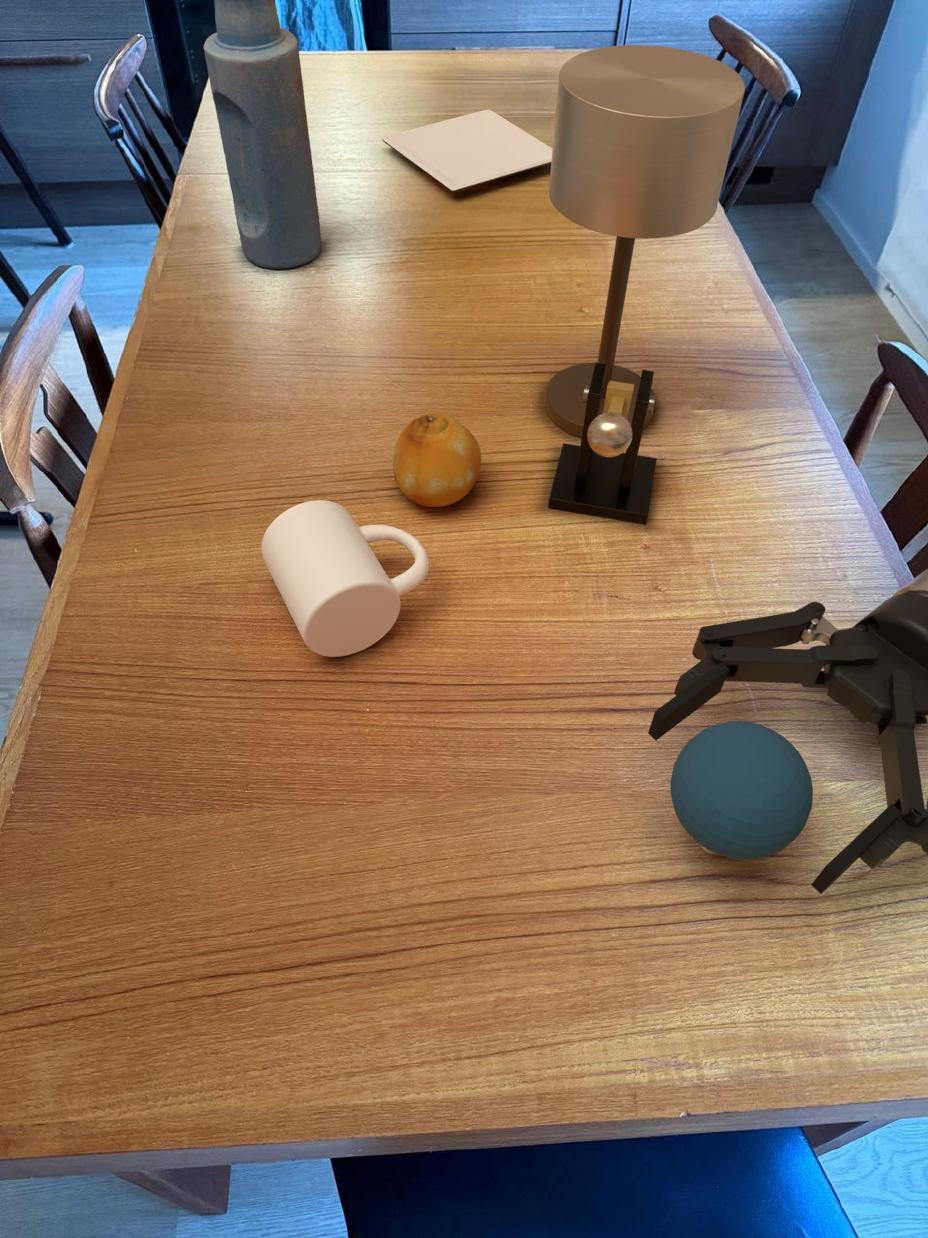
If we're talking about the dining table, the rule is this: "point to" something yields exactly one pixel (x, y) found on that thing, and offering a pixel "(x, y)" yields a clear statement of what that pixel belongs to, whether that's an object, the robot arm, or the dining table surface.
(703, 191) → the lamp
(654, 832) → the dining table surface
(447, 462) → the fruit
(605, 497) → the switch bracket
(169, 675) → the dining table surface
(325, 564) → the mug
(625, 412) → the lamp switch
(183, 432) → the dining table surface
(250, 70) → the bottle
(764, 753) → the dark teal ovoid
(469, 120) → the plate
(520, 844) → the dining table surface
